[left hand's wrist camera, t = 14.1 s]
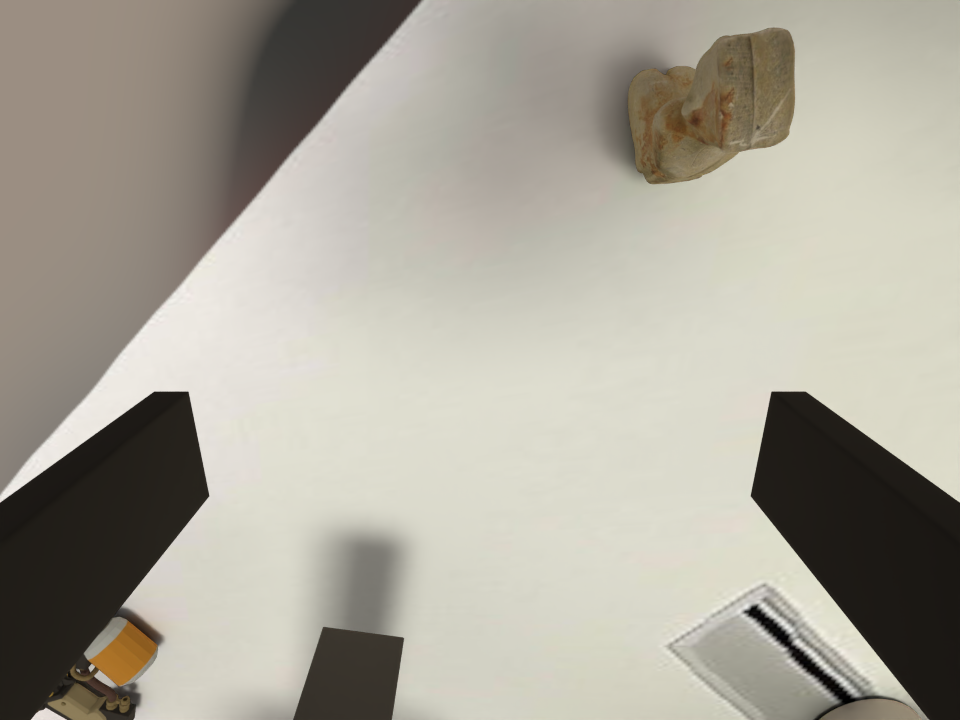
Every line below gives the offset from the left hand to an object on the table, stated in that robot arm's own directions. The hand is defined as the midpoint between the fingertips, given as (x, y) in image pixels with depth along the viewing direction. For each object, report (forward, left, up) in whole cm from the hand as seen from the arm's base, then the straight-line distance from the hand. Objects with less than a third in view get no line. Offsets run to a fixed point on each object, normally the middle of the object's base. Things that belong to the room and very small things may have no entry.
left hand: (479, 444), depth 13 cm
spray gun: (+56, +1, -31) cm, 64 cm away
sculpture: (-15, +3, -31) cm, 34 cm away
